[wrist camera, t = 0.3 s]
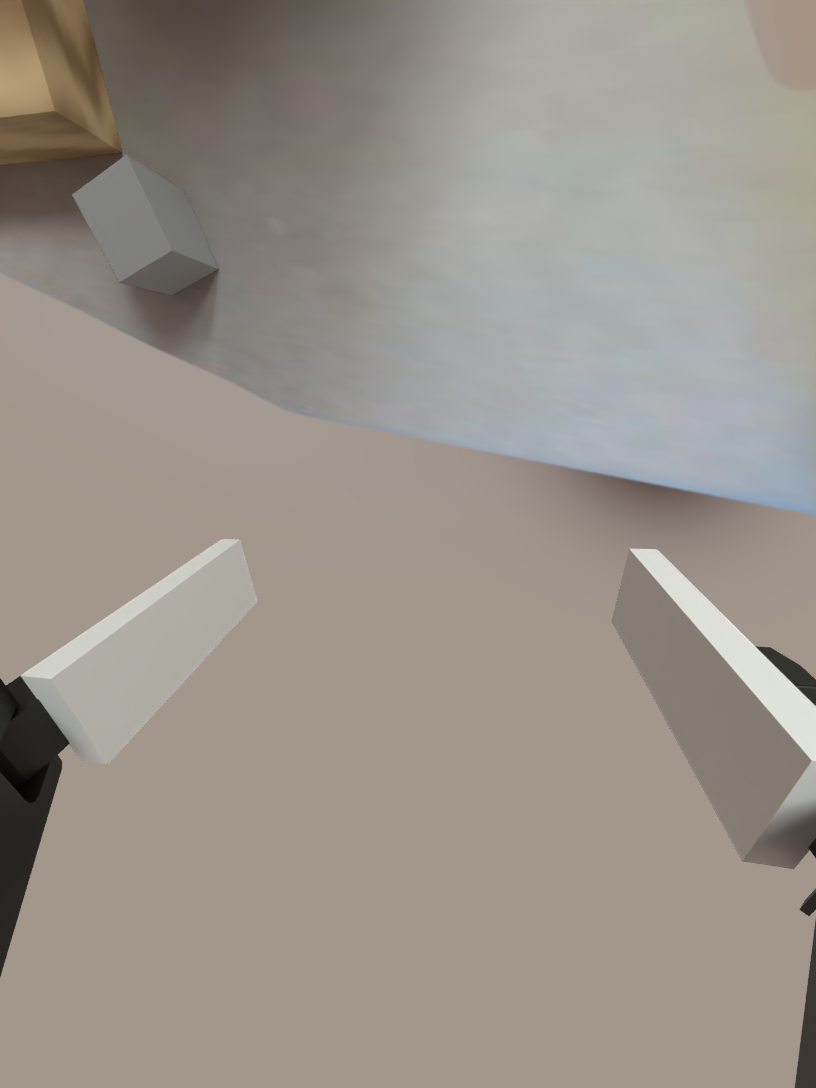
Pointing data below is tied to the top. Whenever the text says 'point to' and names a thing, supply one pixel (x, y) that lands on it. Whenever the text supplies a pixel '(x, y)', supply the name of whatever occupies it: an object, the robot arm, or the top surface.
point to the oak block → (51, 84)
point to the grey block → (145, 228)
